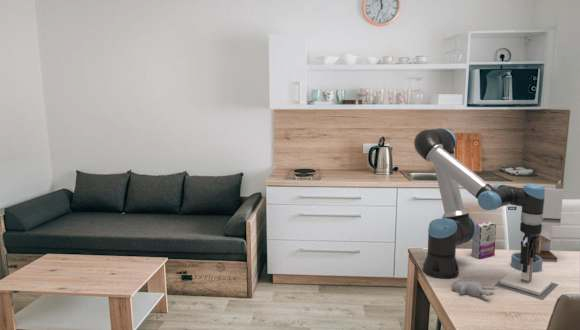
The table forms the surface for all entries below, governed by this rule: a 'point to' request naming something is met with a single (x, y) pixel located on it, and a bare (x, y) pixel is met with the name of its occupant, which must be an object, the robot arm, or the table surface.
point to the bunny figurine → (471, 288)
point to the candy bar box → (484, 240)
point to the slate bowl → (516, 264)
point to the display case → (549, 221)
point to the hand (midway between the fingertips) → (526, 277)
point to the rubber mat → (528, 292)
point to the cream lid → (526, 282)
